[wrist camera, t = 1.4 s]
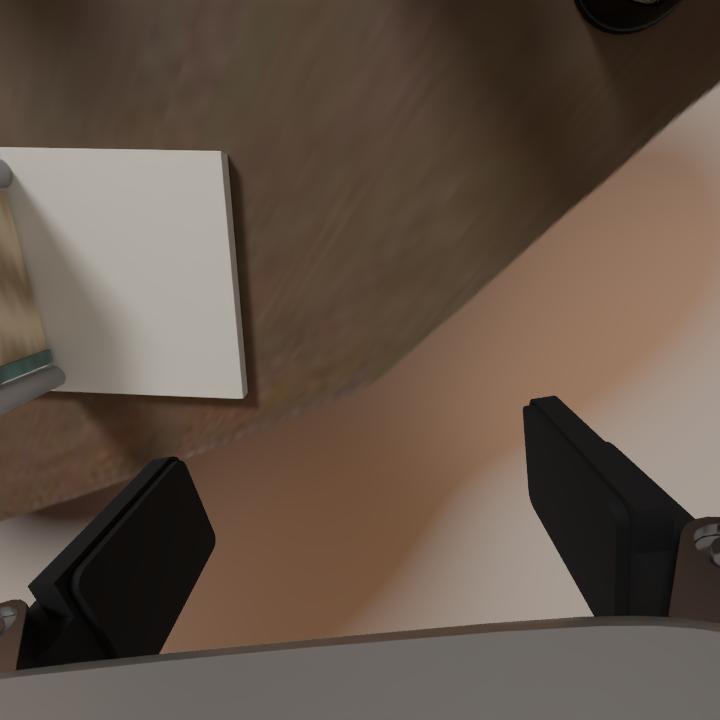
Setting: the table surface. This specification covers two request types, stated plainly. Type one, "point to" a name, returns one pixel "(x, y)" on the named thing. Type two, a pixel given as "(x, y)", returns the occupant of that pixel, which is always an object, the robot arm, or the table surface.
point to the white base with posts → (128, 271)
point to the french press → (624, 14)
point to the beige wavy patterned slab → (17, 307)
